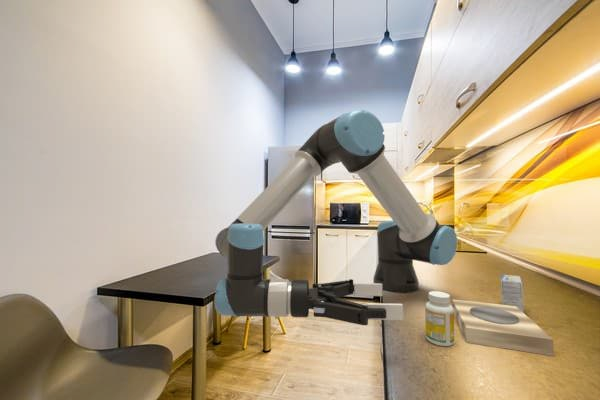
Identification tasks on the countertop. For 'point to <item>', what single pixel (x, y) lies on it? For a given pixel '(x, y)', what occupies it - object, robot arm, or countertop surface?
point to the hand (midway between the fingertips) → (391, 299)
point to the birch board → (500, 327)
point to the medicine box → (512, 291)
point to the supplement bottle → (439, 319)
